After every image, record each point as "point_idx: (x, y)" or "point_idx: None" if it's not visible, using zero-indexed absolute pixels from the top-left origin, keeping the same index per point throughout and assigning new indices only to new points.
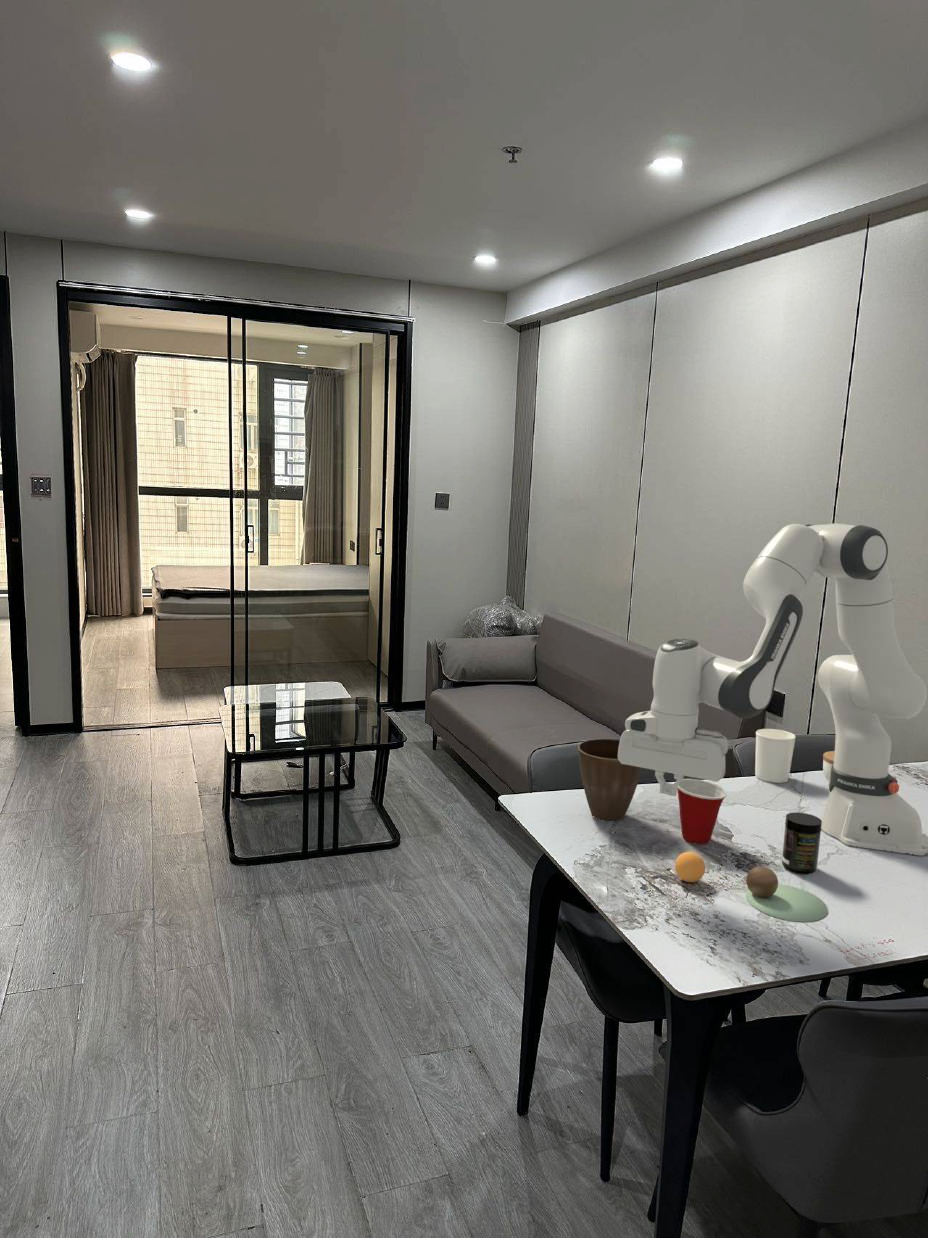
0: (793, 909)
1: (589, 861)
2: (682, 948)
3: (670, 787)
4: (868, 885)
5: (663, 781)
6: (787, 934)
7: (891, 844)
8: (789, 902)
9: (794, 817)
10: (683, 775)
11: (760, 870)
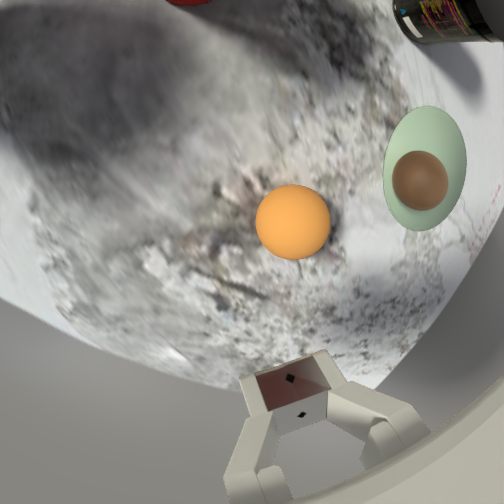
0: None
1: (74, 292)
2: None
3: (318, 417)
4: (478, 43)
5: (274, 441)
6: (433, 260)
7: None
8: None
9: (484, 2)
10: (415, 425)
11: (437, 200)
